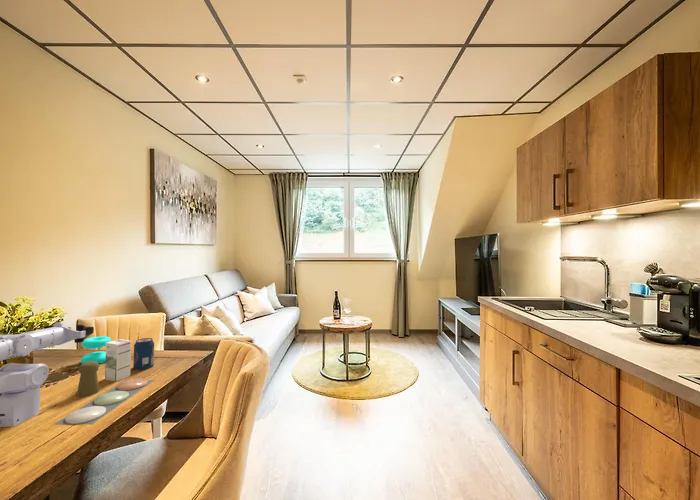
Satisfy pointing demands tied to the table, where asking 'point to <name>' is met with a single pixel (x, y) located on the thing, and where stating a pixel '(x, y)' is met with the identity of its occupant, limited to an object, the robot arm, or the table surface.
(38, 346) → the robot arm
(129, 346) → the syrup box
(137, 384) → the peach dome knob
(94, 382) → the cork
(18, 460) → the table surface
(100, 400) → the pale green dome knob
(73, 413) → the white dome knob
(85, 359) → the donuts
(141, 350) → the soda can
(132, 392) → the grey board
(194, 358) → the table surface
